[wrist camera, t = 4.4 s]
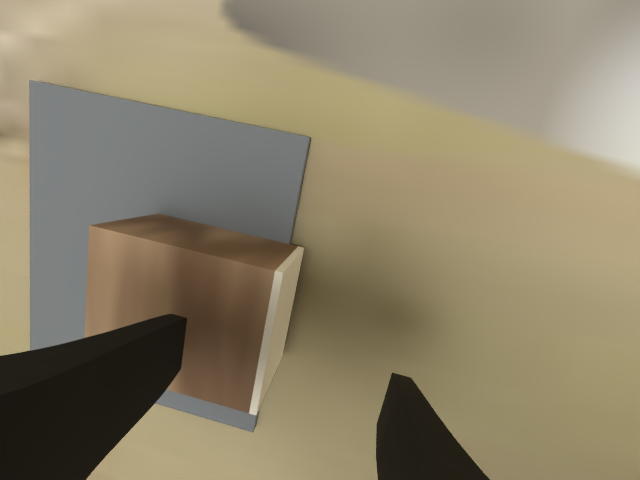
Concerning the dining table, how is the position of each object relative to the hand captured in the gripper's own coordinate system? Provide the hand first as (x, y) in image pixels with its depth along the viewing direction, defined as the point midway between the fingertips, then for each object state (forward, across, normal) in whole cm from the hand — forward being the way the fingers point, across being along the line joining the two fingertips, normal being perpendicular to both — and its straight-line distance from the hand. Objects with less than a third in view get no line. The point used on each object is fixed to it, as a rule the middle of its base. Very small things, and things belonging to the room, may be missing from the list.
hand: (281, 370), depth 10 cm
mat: (+5, +8, 0) cm, 10 cm away
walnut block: (+3, +1, 0) cm, 3 cm away
